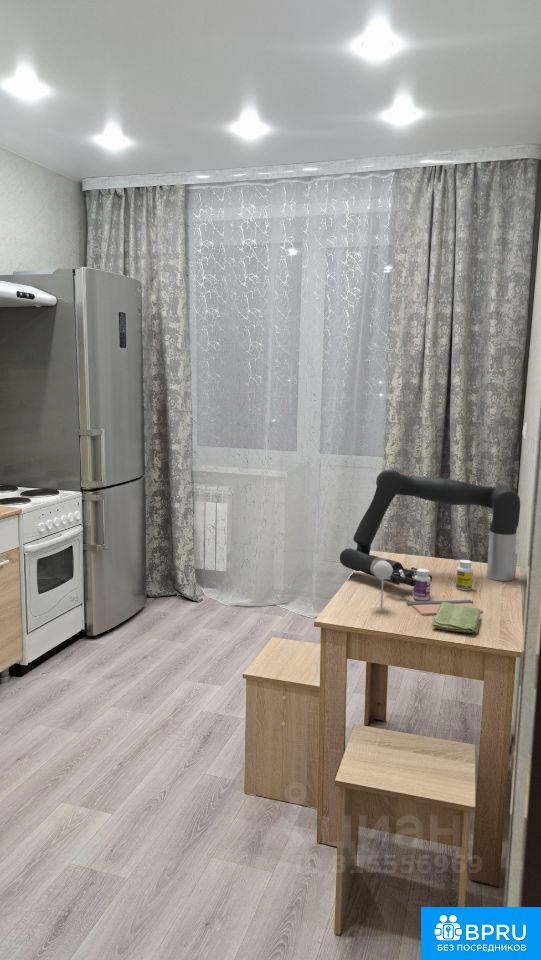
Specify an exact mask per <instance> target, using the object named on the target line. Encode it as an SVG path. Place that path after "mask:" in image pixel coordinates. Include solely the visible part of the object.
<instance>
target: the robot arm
mask: <svg viewBox="0 0 541 960" xmlns="http://www.w3.org/2000/svg"><path fill="white" fill-rule="evenodd" d="M375 479H376V480H375V485H376V488H375V491H374V495H373V498H372V501H371V502H370V504H369V506H368V508H367V510H366V511H365V513H364V515H363V516H362V518H361V521H360V523H359V524H358V527H357V529H356V530H355V533H354V535H353V538H352V539H353V541H354V543H356V549H353V548H345V549H343V550H342V551H341V552H340V553H339V562H340V564H341V565H343V567H345V568H348V569H351V570H353V571H356V572H362V573H364V574H366V575H368V576H371V577H375V578H376V579H379V578H377V577H376V576H375V574H374V571H373V568H374V566H375V565H376V563H378V562H380V561H386V562H388V563H389V564H390V565H391V566H392V568H393V572H392V575H391V576H390V577H389V578H388V579H385V580H383V582H384V581H385V582H387V583H391V584H394V585H397V586H399V585H407V586H411V587H414V586H415V580H414V577H415V576H416V575H417V573H416V572H417V569H418V568H417V567H411V568H407V567H404V566H403V565H402V563H401V562H400V561H396V560H393V559H389V558H385V557H379V556H375V555H372V554H370V552H371V549H372V547H371V546H372V544H373V542H374V539H375V537H376V535H377V533H378V531H379V528H380V527H381V523H382V522H383V519H384V517H385V514H386V513H387V511H388V508H389V506H390V505H391V503H392V502H393V499H394V498H395V497H396V496H397V495H398V496H399V495H400V496H410V497H414V498H418V499H422V500H425V501H429V502H434V503H438V504H444V505H451V506H471V505H472V506H478V507H485V508H487V509H488V508H489V509H492V511H493V512H492V520H491V523H490V524H489V525H490V526H489V536H488V537H489V539H488V549H487V550H488V551H487V565H486V566H487V568H486V578H488V579H490V580H494V581H500V582H501V581H502V582H508V581H512V580H516V576H517V575H516V574H517V562H518V561H517V560H518V554H517V553H516V541H517V531H518V530H517V529H518V527H519V524H520V523H519V522H520V513H521V499H520V497H519V495H518V493H516V492H515V491H514V490H512V489H510V488H508V487H501V486H486V485H477V484H474V483H470V482H465V481H463V480H462V481H460V480H455V479H452V478H451V479H450V478H444V477H436V476H435V477H433V476H413V475H407V474H404V473H401V472H398V471H397V470H395V469H390V468H389V469H384V470H383V471H381V472H380V473H379V474H378V475H377V477H376V478H375ZM428 576H429V577H430V579H431V582H432V581H433V576H432V574H429V575H428ZM379 580H381V581H382V579H379ZM431 582H430V583H431Z"/></svg>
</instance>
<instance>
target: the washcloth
mask: <svg viewBox="0 0 541 960" xmlns="http://www.w3.org/2000/svg"><path fill="white" fill-rule="evenodd" d="M478 608H479V607H478ZM478 608H473V607H467V606H459V605H455V604H451V603H446V602H442V603H441V605H440V607H439V610H438V612H437V615H434V618H433V620H432V623H431V626H432V627H434V629H439V630H443V631H451V632H458V633H467V634H468V633H469V634H473V635H477V633H479V627H480V620H481V618H480V617H481V613H480V608H479V609H478Z"/></svg>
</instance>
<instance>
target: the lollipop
mask: <svg viewBox="0 0 541 960" xmlns="http://www.w3.org/2000/svg"><path fill="white" fill-rule="evenodd" d="M373 571H374V574H375V576H376V577H377V578H376V577H375V578H376V579H378V578H379V580H381V579H382V580H381V591H380V592H381V594H380V595H381V596H380V607H381V608H383V600H384V599H383V596H384V595H383V594H384V580H385V579H388V578H389V577H390V576H391V575H392V572H393V568H392V566H391V565H390V564H389V563H388V562H386V561H380V562H378V563H376V565H375V566H374V568H373Z"/></svg>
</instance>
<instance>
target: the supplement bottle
mask: <svg viewBox="0 0 541 960" xmlns="http://www.w3.org/2000/svg"><path fill="white" fill-rule="evenodd" d="M473 575H474V568H473V567H472V561H471V560H468V559H460V560H459V566H457V568H456V579H455V588H456V589H457V590H461V591H471V590H472V589H473V578H474V576H473Z"/></svg>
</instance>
